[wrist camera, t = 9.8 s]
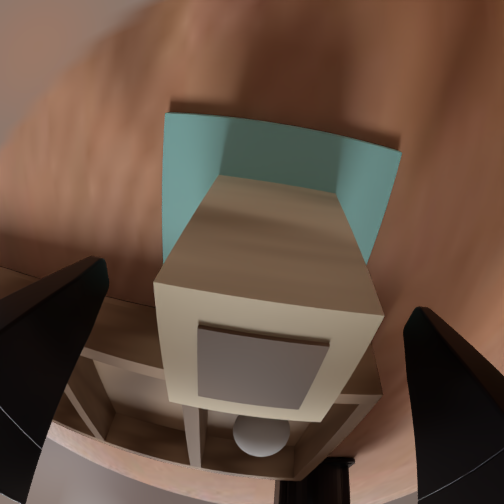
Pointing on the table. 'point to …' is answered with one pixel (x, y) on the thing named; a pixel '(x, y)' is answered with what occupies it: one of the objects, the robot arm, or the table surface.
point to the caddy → (178, 415)
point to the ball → (260, 435)
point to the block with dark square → (264, 302)
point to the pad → (272, 168)
